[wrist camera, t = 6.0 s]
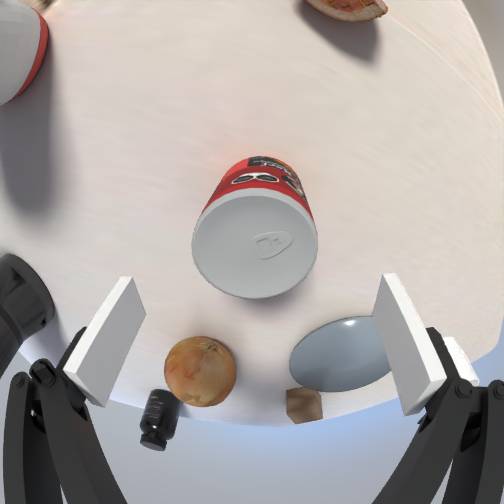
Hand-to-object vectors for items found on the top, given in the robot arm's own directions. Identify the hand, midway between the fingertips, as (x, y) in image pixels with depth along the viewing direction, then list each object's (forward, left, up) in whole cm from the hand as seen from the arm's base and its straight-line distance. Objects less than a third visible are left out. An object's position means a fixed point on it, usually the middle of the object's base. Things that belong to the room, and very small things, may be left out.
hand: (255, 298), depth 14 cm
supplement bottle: (-21, -40, -15) cm, 47 cm away
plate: (+12, -25, -15) cm, 31 cm away
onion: (-9, -22, -15) cm, 28 cm away
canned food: (0, 0, -15) cm, 15 cm away
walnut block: (+6, -36, -15) cm, 39 cm away
